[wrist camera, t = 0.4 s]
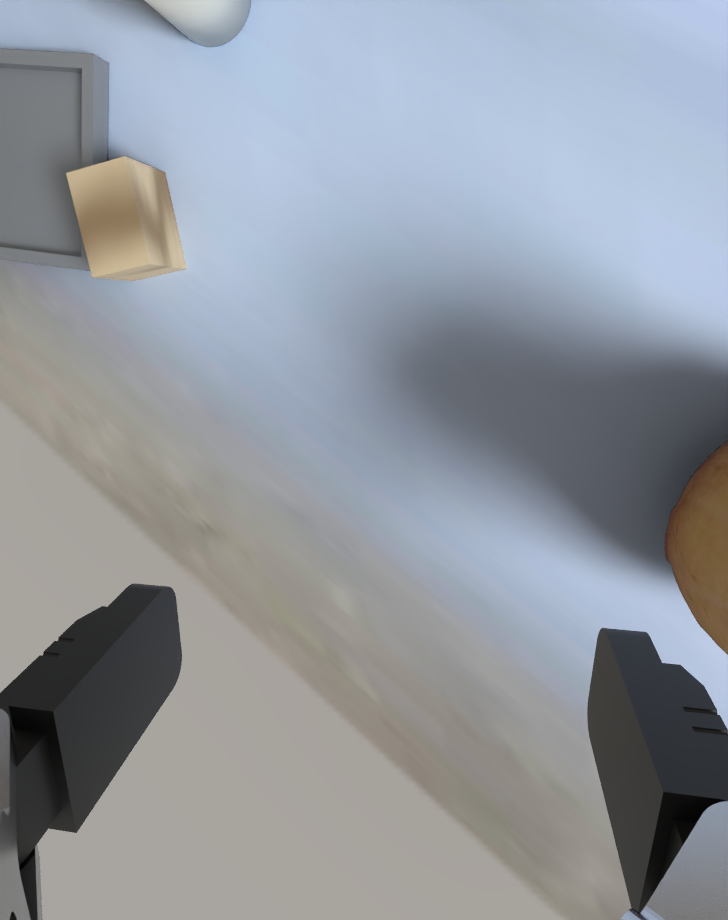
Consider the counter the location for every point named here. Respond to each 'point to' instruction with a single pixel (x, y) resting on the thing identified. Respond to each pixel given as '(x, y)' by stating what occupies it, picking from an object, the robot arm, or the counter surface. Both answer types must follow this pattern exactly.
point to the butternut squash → (703, 545)
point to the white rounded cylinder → (205, 18)
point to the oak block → (126, 220)
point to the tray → (48, 150)
